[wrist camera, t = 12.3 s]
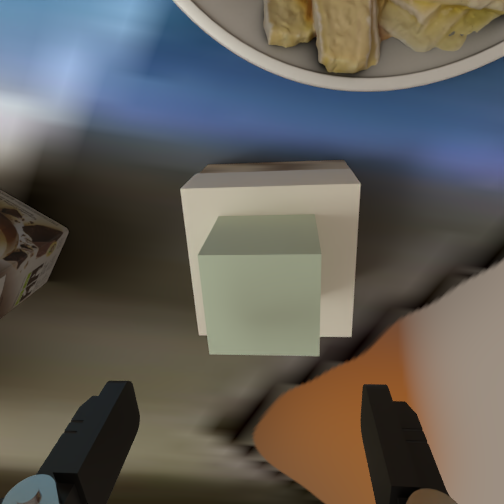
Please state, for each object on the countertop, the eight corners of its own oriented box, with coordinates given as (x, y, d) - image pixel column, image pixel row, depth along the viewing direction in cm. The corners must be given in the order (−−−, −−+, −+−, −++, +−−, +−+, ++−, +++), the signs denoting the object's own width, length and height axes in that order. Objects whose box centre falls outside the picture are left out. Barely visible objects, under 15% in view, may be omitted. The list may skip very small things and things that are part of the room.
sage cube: (226, 298, 25) (209, 354, 20) (218, 216, 22) (197, 255, 17) (313, 298, 24) (319, 356, 19) (314, 214, 22) (321, 254, 17)
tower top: (210, 303, 30) (198, 335, 26) (195, 173, 26) (180, 188, 22) (343, 304, 29) (351, 337, 25) (350, 168, 25) (360, 183, 21)
